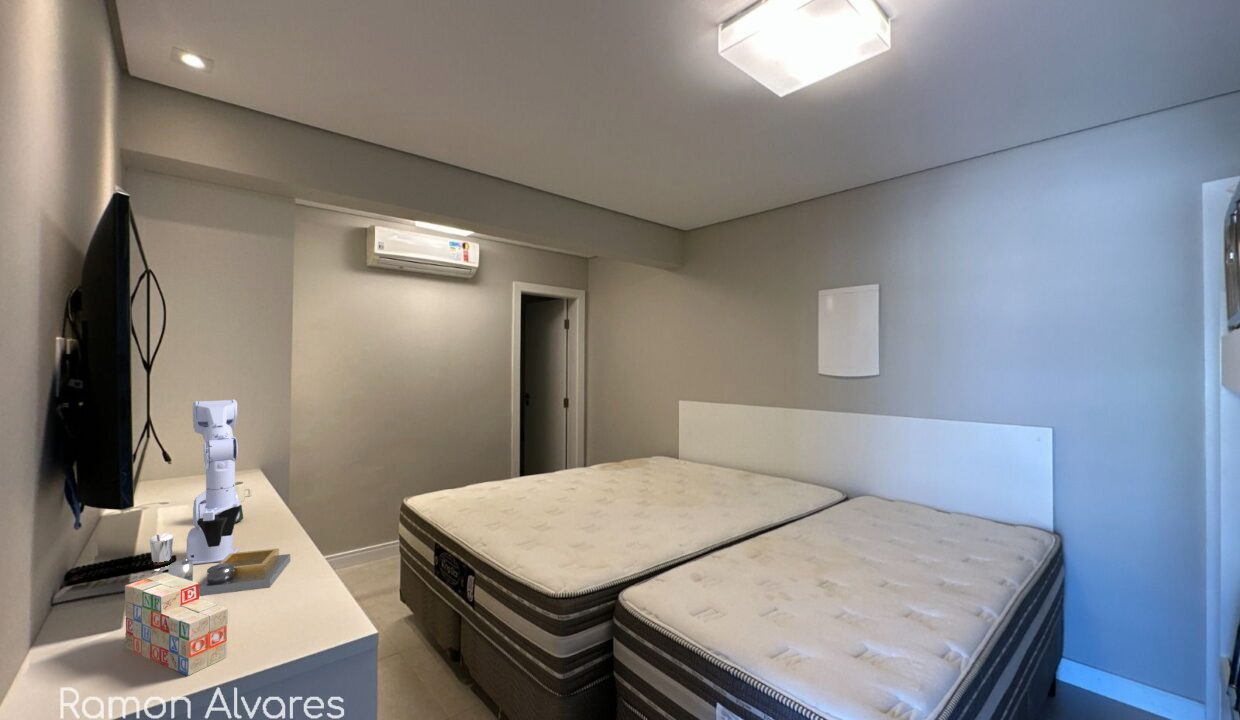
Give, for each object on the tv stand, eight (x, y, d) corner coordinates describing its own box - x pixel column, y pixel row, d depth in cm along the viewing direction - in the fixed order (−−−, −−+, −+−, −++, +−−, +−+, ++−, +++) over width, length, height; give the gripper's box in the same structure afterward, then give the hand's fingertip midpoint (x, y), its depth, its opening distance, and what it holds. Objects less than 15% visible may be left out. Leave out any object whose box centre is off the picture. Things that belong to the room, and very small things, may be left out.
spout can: (164, 593, 116) (164, 563, 116) (174, 585, 120) (174, 556, 120) (187, 591, 117) (187, 561, 117) (196, 583, 122) (196, 554, 122)
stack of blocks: (228, 657, 92) (228, 591, 92) (187, 677, 86) (188, 607, 86) (164, 631, 100) (164, 571, 100) (124, 648, 95) (124, 583, 95)
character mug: (252, 516, 171) (252, 479, 171) (251, 522, 166) (251, 483, 166) (211, 522, 165) (211, 483, 165) (209, 528, 159) (209, 488, 159)
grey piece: (199, 595, 115) (199, 574, 115) (228, 568, 130) (228, 549, 130) (270, 587, 120) (270, 566, 120) (290, 561, 135) (290, 543, 135)
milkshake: (145, 575, 125) (145, 536, 125) (153, 567, 130) (153, 529, 130) (169, 572, 128) (169, 533, 127) (176, 564, 132) (176, 526, 132)
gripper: (228, 492, 119) (228, 549, 119) (250, 479, 133) (249, 529, 133) (192, 495, 117) (192, 552, 117) (218, 481, 131) (217, 532, 131)
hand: (220, 540), depth 125 cm, fingers open, 7 cm apart
